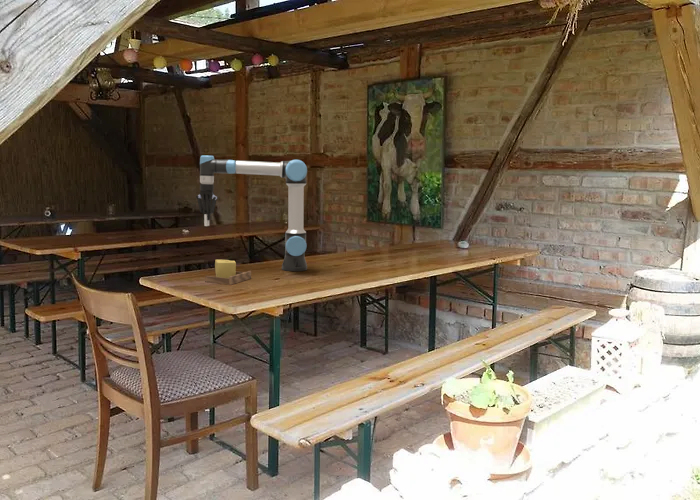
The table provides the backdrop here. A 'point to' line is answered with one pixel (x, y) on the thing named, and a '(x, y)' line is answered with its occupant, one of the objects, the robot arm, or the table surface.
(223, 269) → the cheese
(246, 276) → the brown wooden u frame
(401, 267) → the table surface
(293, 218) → the robot arm
